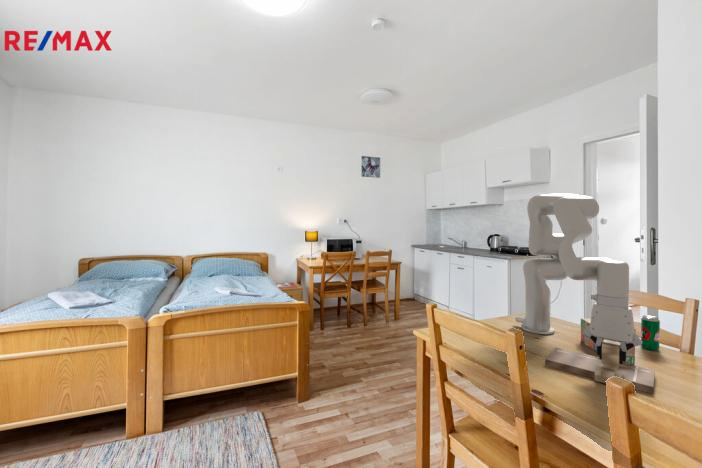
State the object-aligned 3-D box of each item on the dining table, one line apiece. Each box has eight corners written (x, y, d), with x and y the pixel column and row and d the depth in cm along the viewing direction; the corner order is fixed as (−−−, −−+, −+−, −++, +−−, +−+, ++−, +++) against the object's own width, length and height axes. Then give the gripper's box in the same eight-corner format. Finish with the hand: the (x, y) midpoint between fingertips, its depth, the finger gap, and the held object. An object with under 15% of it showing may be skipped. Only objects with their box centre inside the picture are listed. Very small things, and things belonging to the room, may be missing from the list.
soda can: (658, 352, 115) (659, 319, 115) (639, 348, 119) (640, 316, 118) (660, 349, 118) (660, 317, 118) (641, 345, 122) (642, 314, 122)
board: (545, 365, 106) (545, 359, 106) (556, 352, 116) (556, 347, 116) (653, 394, 87) (653, 386, 87) (654, 376, 97) (655, 369, 97)
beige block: (594, 380, 94) (594, 347, 94) (601, 364, 105) (602, 335, 104) (620, 388, 90) (621, 353, 90) (626, 370, 101) (626, 339, 100)
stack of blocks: (580, 341, 127) (580, 310, 127) (597, 341, 126) (598, 311, 126) (614, 364, 106) (614, 327, 106) (635, 365, 105) (636, 328, 105)
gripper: (576, 298, 100) (575, 356, 101) (649, 308, 88) (647, 373, 89) (581, 295, 106) (580, 349, 106) (650, 303, 94) (649, 365, 94)
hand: (611, 359), depth 98 cm, fingers closed on beige block, 4 cm apart
